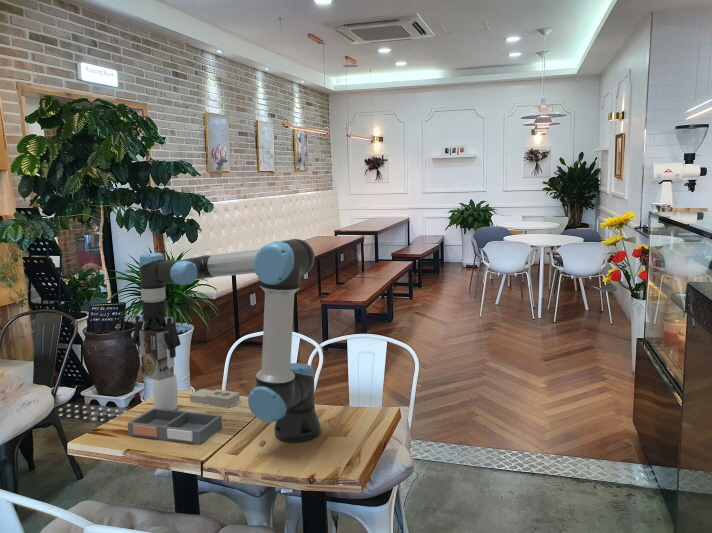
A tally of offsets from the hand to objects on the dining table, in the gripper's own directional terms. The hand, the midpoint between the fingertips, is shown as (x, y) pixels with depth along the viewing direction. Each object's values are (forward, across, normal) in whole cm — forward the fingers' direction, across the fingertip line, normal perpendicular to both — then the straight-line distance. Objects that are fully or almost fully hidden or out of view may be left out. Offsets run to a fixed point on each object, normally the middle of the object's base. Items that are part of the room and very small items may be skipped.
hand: (157, 365), depth 188 cm
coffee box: (+4, 0, 0) cm, 4 cm away
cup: (+22, +8, -14) cm, 27 cm away
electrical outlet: (+23, -4, -27) cm, 36 cm away
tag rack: (+22, -6, +1) cm, 23 cm away
